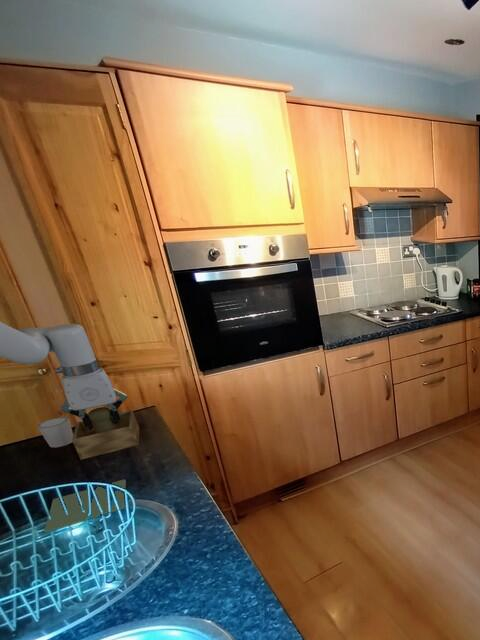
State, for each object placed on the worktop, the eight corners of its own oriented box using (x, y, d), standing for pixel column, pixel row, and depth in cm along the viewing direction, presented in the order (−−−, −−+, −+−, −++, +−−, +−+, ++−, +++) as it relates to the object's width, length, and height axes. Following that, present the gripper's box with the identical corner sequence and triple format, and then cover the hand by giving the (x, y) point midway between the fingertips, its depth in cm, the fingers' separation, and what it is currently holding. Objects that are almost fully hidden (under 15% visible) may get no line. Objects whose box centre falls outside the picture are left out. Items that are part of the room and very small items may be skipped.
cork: (122, 434, 140) (109, 402, 136) (125, 441, 136) (112, 409, 132) (97, 441, 136) (83, 409, 132) (99, 449, 132) (85, 416, 128)
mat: (45, 533, 101) (44, 531, 101) (54, 501, 111) (53, 499, 111) (124, 508, 109) (123, 506, 109) (126, 480, 119) (125, 478, 119)
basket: (80, 459, 128) (71, 440, 126) (85, 440, 138) (77, 422, 135) (138, 445, 135) (131, 426, 133) (139, 427, 145) (132, 410, 142)
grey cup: (48, 451, 132) (38, 430, 129) (45, 443, 136) (35, 422, 133) (79, 442, 137) (70, 421, 134) (75, 434, 141) (66, 414, 138)
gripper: (36, 379, 119) (64, 438, 127) (119, 365, 129) (140, 421, 136) (41, 371, 125) (67, 428, 132) (120, 358, 134) (140, 412, 142)
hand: (104, 424), depth 134 cm, fingers closed on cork, 5 cm apart
